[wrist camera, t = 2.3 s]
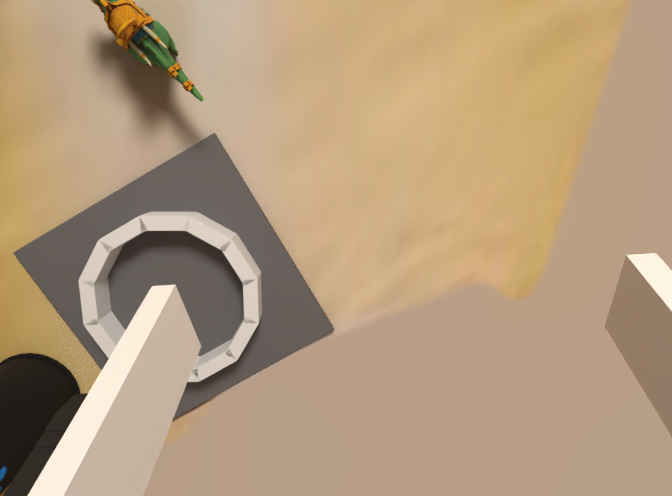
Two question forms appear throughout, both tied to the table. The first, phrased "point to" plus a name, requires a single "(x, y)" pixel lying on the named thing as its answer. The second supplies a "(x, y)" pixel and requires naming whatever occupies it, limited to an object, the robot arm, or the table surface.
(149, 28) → the figurine
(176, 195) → the can holder
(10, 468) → the aerosol can
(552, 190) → the table surface
